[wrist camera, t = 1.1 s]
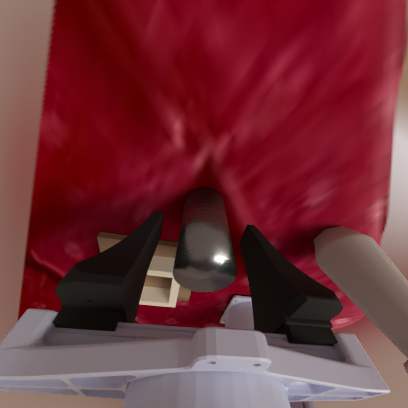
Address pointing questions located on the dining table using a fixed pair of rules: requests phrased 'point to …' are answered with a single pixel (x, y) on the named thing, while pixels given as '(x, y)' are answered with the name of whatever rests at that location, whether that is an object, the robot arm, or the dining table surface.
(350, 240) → the salt shaker
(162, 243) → the socket board
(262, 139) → the dining table surface
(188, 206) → the peg
